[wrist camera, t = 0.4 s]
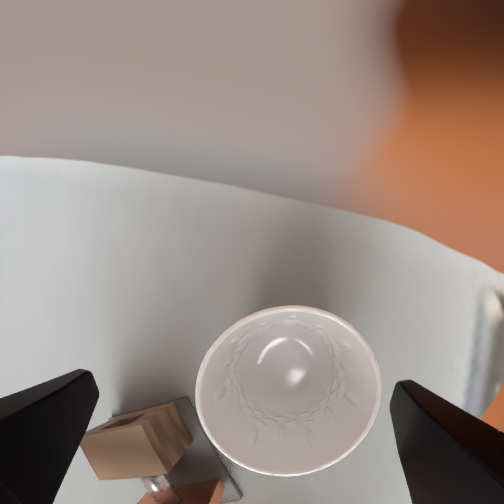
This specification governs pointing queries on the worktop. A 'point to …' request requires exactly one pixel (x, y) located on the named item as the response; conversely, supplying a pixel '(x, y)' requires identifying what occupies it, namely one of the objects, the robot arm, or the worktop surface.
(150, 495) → the copper wooden slab
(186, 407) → the bearing block
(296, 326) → the white cup
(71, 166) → the worktop surface
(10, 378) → the worktop surface
